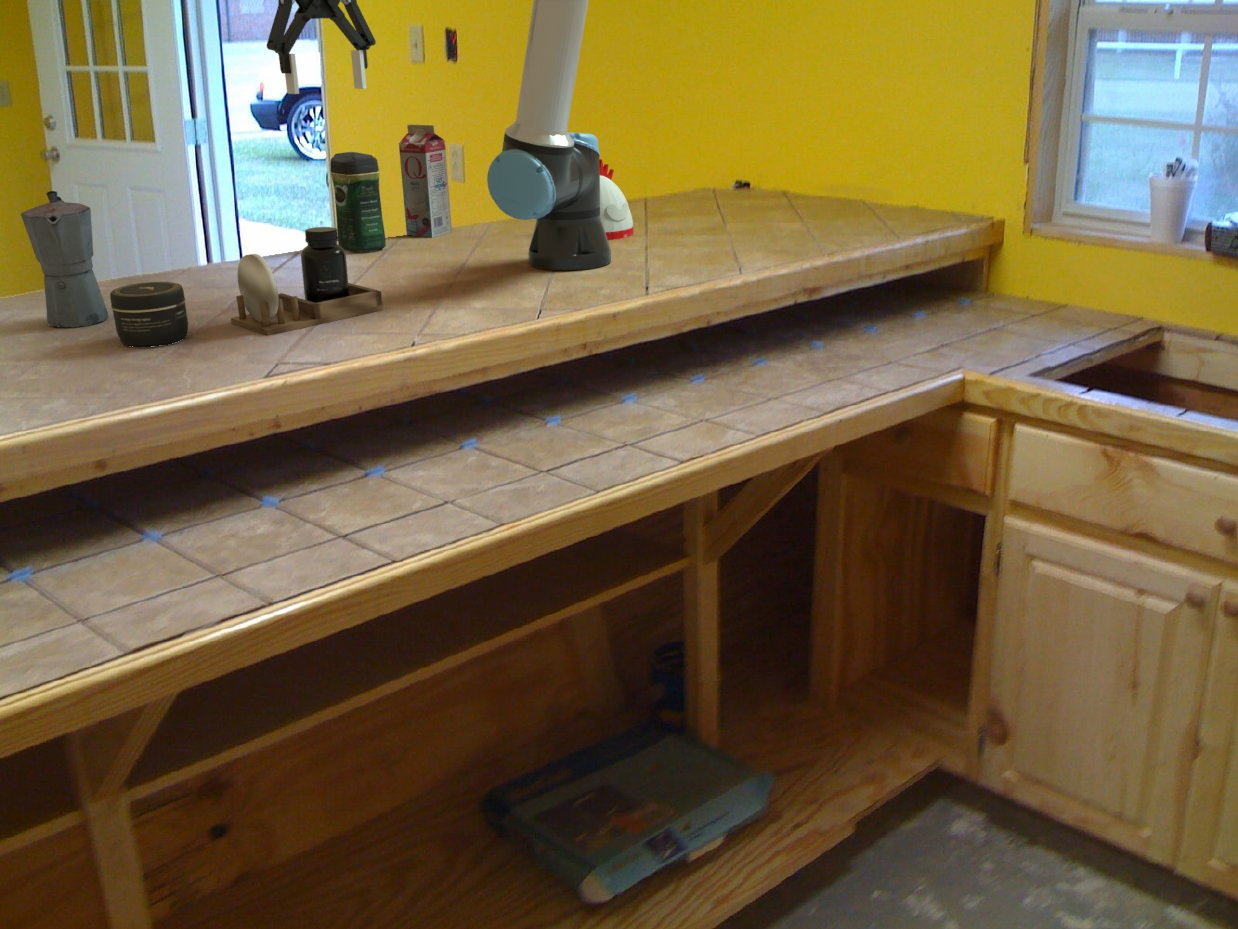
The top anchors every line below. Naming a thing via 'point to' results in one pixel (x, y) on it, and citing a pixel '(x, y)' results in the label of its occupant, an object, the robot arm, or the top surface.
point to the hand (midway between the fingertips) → (327, 91)
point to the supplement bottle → (324, 266)
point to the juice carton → (425, 182)
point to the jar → (150, 313)
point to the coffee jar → (357, 202)
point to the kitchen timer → (613, 207)
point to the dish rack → (291, 302)
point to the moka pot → (66, 261)
